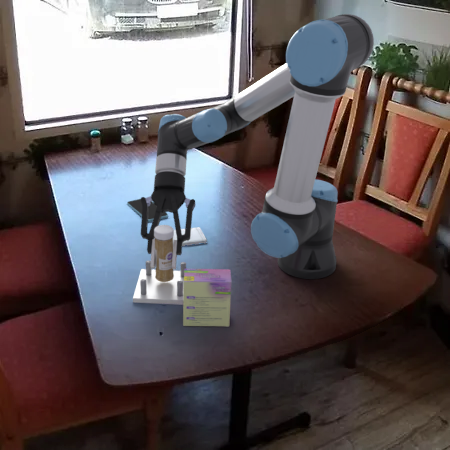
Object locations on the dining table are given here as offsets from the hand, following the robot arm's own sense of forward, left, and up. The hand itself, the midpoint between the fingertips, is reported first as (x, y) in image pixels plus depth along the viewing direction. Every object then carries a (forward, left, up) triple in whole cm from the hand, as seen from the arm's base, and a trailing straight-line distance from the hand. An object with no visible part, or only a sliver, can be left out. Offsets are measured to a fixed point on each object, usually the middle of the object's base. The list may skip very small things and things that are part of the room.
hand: (163, 267), depth 152 cm
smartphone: (+36, -27, -7) cm, 45 cm away
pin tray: (+1, -1, -7) cm, 7 cm away
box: (-15, +1, -7) cm, 17 cm away
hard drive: (+16, -22, -8) cm, 28 cm away
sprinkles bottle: (+2, -2, -4) cm, 5 cm away
